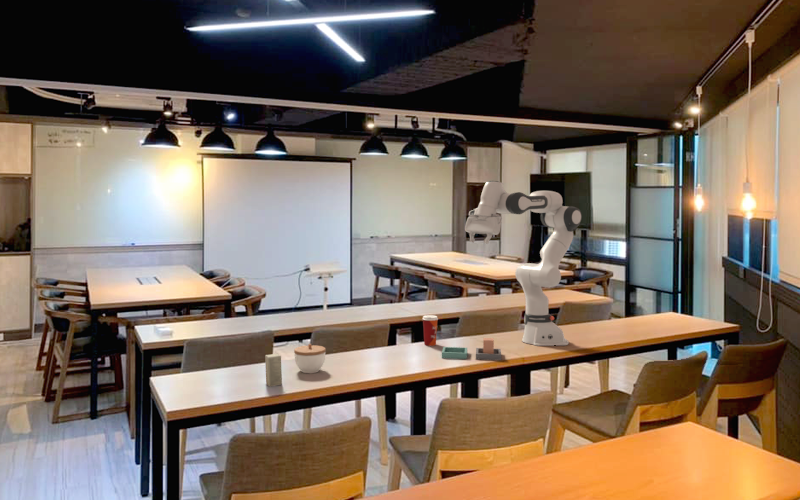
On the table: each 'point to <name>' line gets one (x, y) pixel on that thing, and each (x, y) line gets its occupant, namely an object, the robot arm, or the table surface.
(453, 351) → the bin
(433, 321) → the paper cup
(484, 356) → the bin
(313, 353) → the lidded bowl
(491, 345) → the block
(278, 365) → the box
